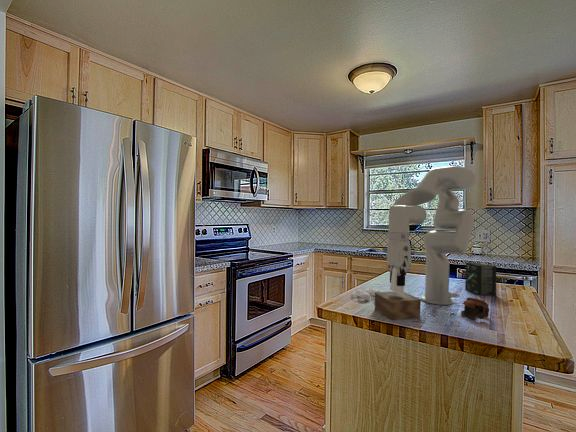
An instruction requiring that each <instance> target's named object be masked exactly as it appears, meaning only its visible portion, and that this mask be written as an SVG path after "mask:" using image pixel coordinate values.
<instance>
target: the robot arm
mask: <svg viewBox="0 0 576 432" xmlns="http://www.w3.org/2000/svg"><path fill="white" fill-rule="evenodd" d="M475 184H476V175H475V173H474V172H473V171H472V170H471V169H469V168H465V167H463V166H457V165H449V166H441V167H440V166H439V167H434V168H431V169H430V170H428V171H427V173H426V174H425V175H424V177H423V179H422V180H421V181H420V182H419V184H418V185H417V186H416V187H415V188H412V189H410V190H409V191H407V192H406V193H403V194H402V195H400V196H399V197H398V198H397V199H396V201H394V203H393V204H392V205H390V206H389V208H388V235H387V236H388V237H387V238H388V239H387V246H386V247H387V249H386V265H387V266H388V267H387V268H388V269H389V270H388V271H389V272H388V273H389V284H391V278H392V270H393V267H394V266H395V267H398V275H397V286H405V285H406V276H407V273H408V272H409V271H411V267H412V249H411V248H412V247H411V243H410V242H411V241H410V225H420V224H422V223H424V222H425V220H426V219H427V216H428V215H427V210H426V209H425V208H424V207H423V206H421V205H423V204H427V203H430V202H433V200H435V198H437V195H438V204H437V208H436V211H435V214H434V217H433V227H434V228H435V229H437V230H430V231H428V232H426V234H425V235H424V237H423V243H424V252H425V281H424V283H425V284H424V286H425V287H424V295H422V296H421V297H420V299H421V301H423V302H424V303H428V304H431V305H438V306H450V305H452V304H453V300H452V298H457V297H458V296H459V295H458V293H457V292H452V291H449V289H450V260H449V258H448V256H447V255H446V254H451V255H453V254H454V255H463V254H465V253H466V252H467V250H468V247H469V243H470V240H471V236H472V231H473V228H474V221H475V220H474V215H473V213H472V212H471V211H470V210H469V209H459V206H460V199H459V198H458V197H457V195H456V194H455V193H454V192H453V190H454V191H456V190H469V189H471V188H473V187H474V186H475ZM401 269H402V270H401Z"/></svg>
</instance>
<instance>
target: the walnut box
mask: <svg viewBox="0 0 576 432" xmlns="http://www.w3.org/2000/svg"><path fill="white" fill-rule="evenodd" d="M374 294H375V296H374V311H376V312H378V313H380V314H381V315H382V316H384V317H386V319H390V320H391V321H396V320H411V319H421V303H422V300H421V298H419V297H416V296H414V295H412V294H410V293H407V292H405V291H400V292H399V291H393V290H391V291H380V292H374Z"/></svg>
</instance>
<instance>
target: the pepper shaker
mask: <svg viewBox="0 0 576 432" xmlns="http://www.w3.org/2000/svg"><path fill="white" fill-rule="evenodd" d="M401 270H402V269H401ZM397 275H398V267H395V266H394V267H393V270H392V278H391V283H390V288H389V290H390V291H399V292H400V291H403V292H405V289H404V286H397Z"/></svg>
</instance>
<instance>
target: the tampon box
mask: <svg viewBox="0 0 576 432" xmlns="http://www.w3.org/2000/svg"><path fill="white" fill-rule="evenodd" d="M464 283H465V285H464V286H465V289H464V290H465V291H467V292H469V293H472V294H475V295H477V296H479V295H480V296H497V265H493V264H490V263H485V262H477V261H476V262H474V261H473V262H468V261H467V262H466V261H465V282H464Z"/></svg>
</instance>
